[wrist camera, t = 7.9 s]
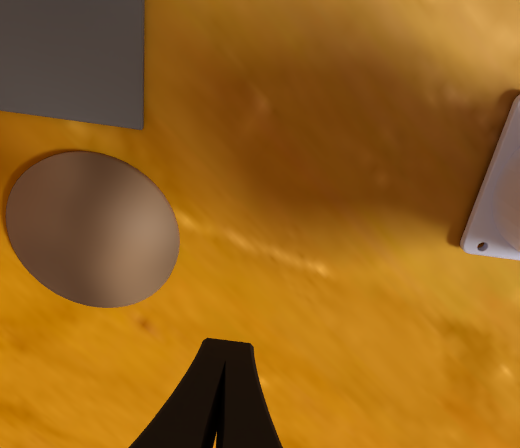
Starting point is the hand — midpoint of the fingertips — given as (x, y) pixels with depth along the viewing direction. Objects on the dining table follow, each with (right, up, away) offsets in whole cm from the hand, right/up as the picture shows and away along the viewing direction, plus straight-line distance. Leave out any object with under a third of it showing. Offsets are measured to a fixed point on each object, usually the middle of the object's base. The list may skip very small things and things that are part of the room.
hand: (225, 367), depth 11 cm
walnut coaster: (-8, +4, +10) cm, 14 cm away
